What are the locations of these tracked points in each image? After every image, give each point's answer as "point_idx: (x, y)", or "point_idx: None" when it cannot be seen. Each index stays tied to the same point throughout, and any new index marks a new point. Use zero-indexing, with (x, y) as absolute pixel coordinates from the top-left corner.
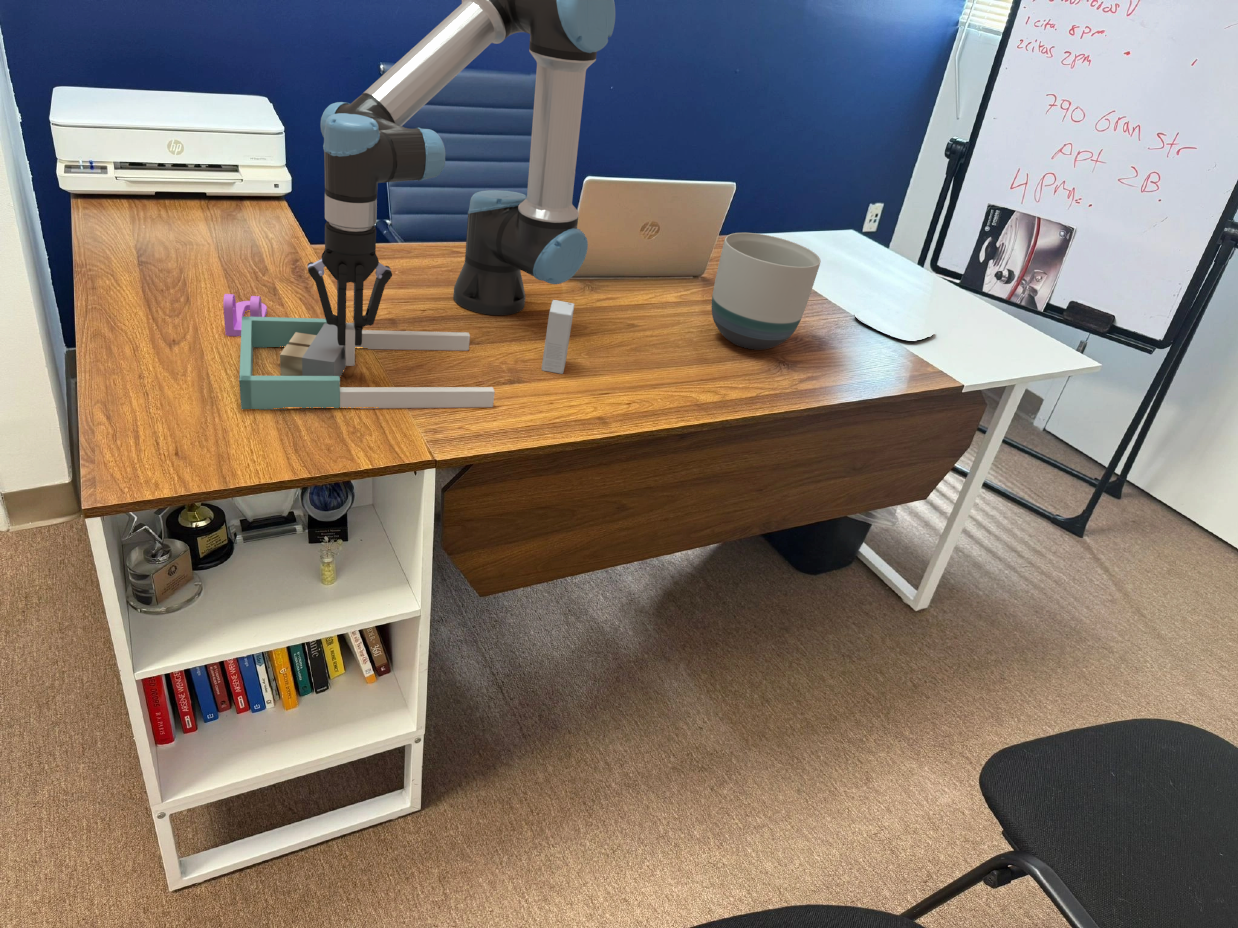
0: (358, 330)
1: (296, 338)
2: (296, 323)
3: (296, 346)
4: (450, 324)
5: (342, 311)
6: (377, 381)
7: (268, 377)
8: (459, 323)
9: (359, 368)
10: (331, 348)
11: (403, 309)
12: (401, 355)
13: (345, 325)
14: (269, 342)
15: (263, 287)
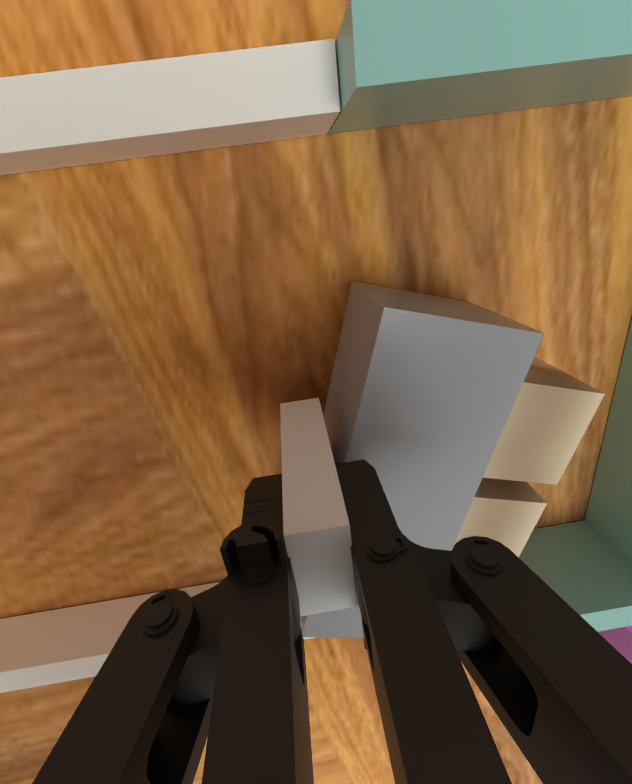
0: (256, 525)
1: (514, 533)
2: None
3: (525, 473)
4: (36, 739)
5: (421, 681)
6: (189, 372)
7: None
8: (12, 749)
9: (268, 457)
10: (394, 456)
11: None
12: (139, 562)
13: (357, 554)
14: (550, 541)
15: (509, 757)
